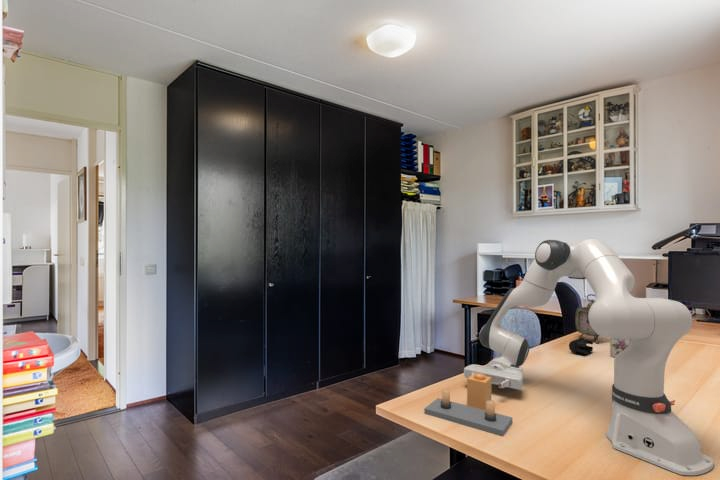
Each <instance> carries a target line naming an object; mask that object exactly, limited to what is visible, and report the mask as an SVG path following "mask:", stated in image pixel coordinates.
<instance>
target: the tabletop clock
mask: <svg viewBox="0 0 720 480" xmlns="http://www.w3.org/2000/svg"><path fill="white" fill-rule="evenodd" d="M589 296H591V297H592V296H593V297H595V298H596V296H595V294H594V293H593V294H592V293H589V294H588V295H587V296H586V299H587V301H588V302H589V303H588V304H587V305H586V306H582V307H577V308H576V310H575V313H574V314H575V315H574V319H575V320H574V322H575V329H576V331H577V332H578V333H580V335H579V336H578V339H579V338H582V337H583V335H585V336H589V337H593V341H595V344H599V343H600V341H599V337H601V336H600V335H598V334H597V333H596V332H595V331H594V330H593V329H592V327H591V325H590V323H589V319H588V314H589V310H590V307H591V306H592V304H593V303H594V302H595V301H596V300H594V299H592V298H591V300H590V299H589Z"/></svg>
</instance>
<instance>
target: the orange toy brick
mask: <svg viewBox="0 0 720 480" xmlns="http://www.w3.org/2000/svg"><path fill="white" fill-rule="evenodd" d="M466 379H467V381H466V382H467V384H466V385H467V386H466V387H467V390H466V395H467V396H466V402H467V403H466V405H467V406H471V407H475V408H478V409H482V410H486V401H492V384H491V383H492V377H487V376H485V374H483V373H474V374H473V375H471V376H470V377H469V378H466Z"/></svg>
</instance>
